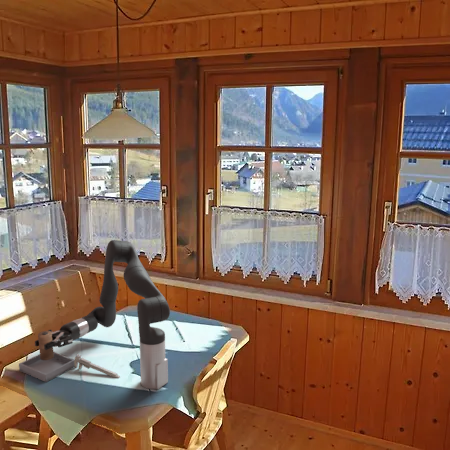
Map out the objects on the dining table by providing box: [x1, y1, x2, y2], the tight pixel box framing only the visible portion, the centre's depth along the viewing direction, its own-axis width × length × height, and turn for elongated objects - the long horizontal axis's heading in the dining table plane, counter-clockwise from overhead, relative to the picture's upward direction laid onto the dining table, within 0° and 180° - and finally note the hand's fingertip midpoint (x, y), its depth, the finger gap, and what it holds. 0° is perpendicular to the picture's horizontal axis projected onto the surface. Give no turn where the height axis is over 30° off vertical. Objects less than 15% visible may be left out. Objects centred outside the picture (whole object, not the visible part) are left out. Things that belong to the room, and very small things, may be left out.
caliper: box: [74, 353, 121, 379], centre depth 185 cm, size 20×1×6 cm, turn 69°
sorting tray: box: [18, 351, 75, 383], centre depth 188 cm, size 16×14×3 cm
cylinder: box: [37, 330, 54, 360], centre depth 186 cm, size 5×5×10 cm
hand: (40, 345), depth 184 cm, fingers closed on cylinder, 5 cm apart
